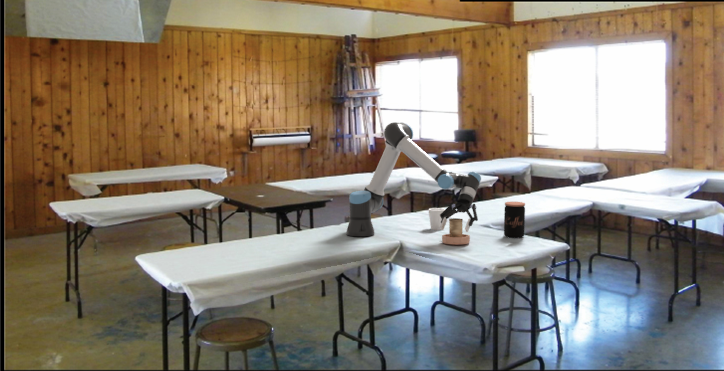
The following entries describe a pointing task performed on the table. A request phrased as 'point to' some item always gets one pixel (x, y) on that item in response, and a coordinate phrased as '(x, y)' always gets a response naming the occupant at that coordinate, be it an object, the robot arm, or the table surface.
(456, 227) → the canister
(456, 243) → the bowl
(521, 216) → the coffee jar
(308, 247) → the table surface
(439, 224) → the foam cup
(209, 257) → the table surface
